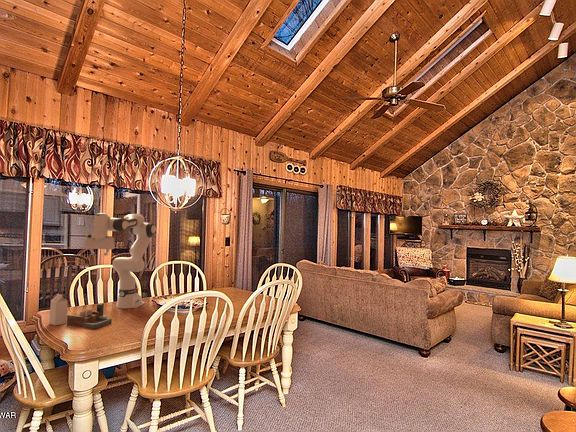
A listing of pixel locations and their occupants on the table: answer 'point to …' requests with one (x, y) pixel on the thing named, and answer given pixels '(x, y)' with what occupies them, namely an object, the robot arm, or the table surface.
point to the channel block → (82, 319)
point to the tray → (97, 323)
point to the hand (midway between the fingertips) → (99, 255)
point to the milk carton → (58, 310)
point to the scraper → (100, 310)
